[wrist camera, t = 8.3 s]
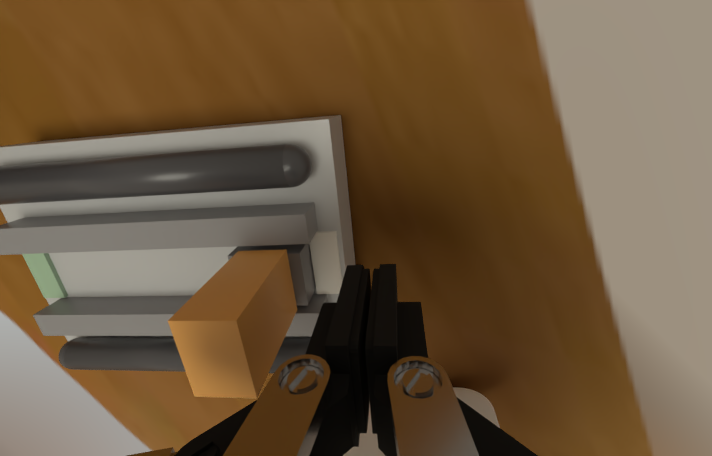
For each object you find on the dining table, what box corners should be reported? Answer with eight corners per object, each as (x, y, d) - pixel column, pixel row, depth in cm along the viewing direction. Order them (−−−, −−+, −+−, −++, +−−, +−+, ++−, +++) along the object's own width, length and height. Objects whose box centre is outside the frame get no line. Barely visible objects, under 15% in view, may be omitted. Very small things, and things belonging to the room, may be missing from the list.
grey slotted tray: (361, 328, 19) (352, 394, 15) (119, 328, 21) (51, 386, 17) (340, 114, 15) (319, 121, 11) (39, 141, 17) (-78, 156, 13)
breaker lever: (316, 291, 15) (273, 398, 10) (254, 292, 15) (179, 396, 10) (307, 234, 14) (254, 320, 9) (241, 237, 14) (151, 321, 9)
